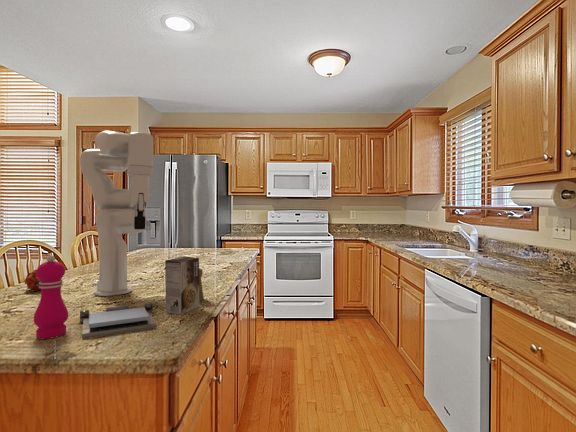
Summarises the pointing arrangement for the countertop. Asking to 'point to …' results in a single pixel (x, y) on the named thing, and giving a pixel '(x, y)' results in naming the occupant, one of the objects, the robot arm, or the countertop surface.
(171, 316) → the countertop surface
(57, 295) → the pepper mill
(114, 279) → the robot arm
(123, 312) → the panel
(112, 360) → the countertop surface
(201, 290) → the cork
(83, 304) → the countertop surface
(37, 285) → the dragon fruit
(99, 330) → the hinge base
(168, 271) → the coffee box
